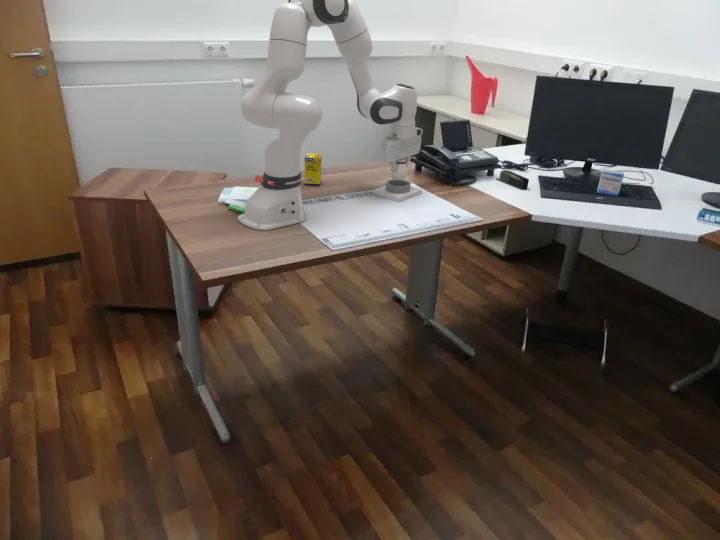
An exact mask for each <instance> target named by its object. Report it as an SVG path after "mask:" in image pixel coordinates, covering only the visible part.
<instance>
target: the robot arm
mask: <svg viewBox="0 0 720 540" xmlns="http://www.w3.org/2000/svg"><path fill="white" fill-rule="evenodd" d="M324 26H327V27H328V28H329V30H330V31H331V33H332V37H333V39H334V41H335V44H336V47H337V49H338V52H339V53H340V56H341V57H342V59H343V60H344V62H345V65H346V67H347V68H348V71H349V75H350V77H351V81H352V82H353V84H354V85H353V86H354V89H355V91H356V108H357V110H358V112H359V114H360V115H361V116H362V117H363V118H366V119H367V120H370V121H371V122H373V123H375V124H376V125H387V124H389V135H386V136H385V137H384V139H383V141H382V143H381V146H380V147H381V148H380V154H379V160H380V162H383V163H387V164H389V166H390V171H391V173H392V172H396V171H397V167H396V165H395V163H396V160H399V159H402V158H405V159H407V163H406V169H407V168H408V167H409V165H408V164H409V162H410V160H411V156H415V155H417V154H419V153H420V151H421V149H422V148H421V145H422V135H423V131H424V130H423V129H422V128H419V127H417V126H416V119H415V118H416V114H417V109H418V108H417V107H418V96H417V90H416V88H415V87H414V86H411V85H407V84H403V83H395V85H394V86H393V87H391V88H390V89H388V90H386V91H384V92H380V91H379V90H378V89H377V88H376V87H375V85H374V84H373V80H372V77H371V74H370V71H369V68H368V59H369V58H370V56H371V54H372V52H373V49H374V47H373V41H372V38H371V37H372V36H371V34H370V31H369V29H368V25H367V23H366V21H365V19H364V16H363V14H362V12H361V10H360V9H359V7H358V5H357V4H356V2H355V1H354V0H288V1H287V2H283V3H281V4H279V5H278V6H277V7H276V9H275V11H274V14H273V17H272V21H271V27H270V32H269V40H268V49H267V57H266V65H265V68H264V71H263V73H262V76H261V77H260V80H259V81H258V82H257V84H256V85H254V86H253V88H251V90H249V91H248V92H246V93H245V94H244V96H243V98H242V99H241V103H240V104H241V105H240V110H241V114H242V117H243V118H244V120H245V121H246V122H248V123H249V124H252V125H254V126H258V127H261V128H268V129H276V130H279V135H278V136H279V137H278V138H277V139H275V140H272V141H271V142H269V143H268V144H267V145H266V147H265V148H264V152H263V153H264V172H263V175H262V176H260V175H255V176H254V181H255V182H257V183H260V185H259V187H257V189H256V190H255V192H253V194H252V195H251V196H250V197H249V198H248V199H247V200H246V202H245V206H244V207H245V208H244V213H241V214H240V215H238V216H237V220H238V222H239V223H240V224H242V225H244V226H246V227H248V228H252V229H254V230H257V231H258V230H259V231H270V230H274V229H277V228H282V227H286V226H290V225H295V224H298V223H303V222H305V221H306V219H305V216H306V212H305V209H304V204H303V198H302V190H301V184H302V172H301V167H300V165H301V151H302V147H303V144H304V143H305V140H306V139H307V137H308V136H309V135H310V134H311V133H312V132H314V131H315V130H316V129H318V127H319V125H320V123H321V121H322V117H323V110H322V107H321V104H320V102H319V101H318V100H317V98H314V97H312V96H308V95H305V94H301V93H294V92H293V93H292V92H291V93H290V92H286V89H287V87H288V85H289V84H290V83H292V82H293V81H294V80H298V79H299V78H300V77H301V76H302V75H303V73H304V71H305V64H306V54H307V46H308V34H309V31H310V28H312V27H314V28H315V27H316V28H320V27H324Z"/></svg>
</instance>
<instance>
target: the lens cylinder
mask: <svg viewBox="0 0 720 540" xmlns="http://www.w3.org/2000/svg"><path fill="white" fill-rule="evenodd" d="M406 163H407V159H405V158H402V159H399V160H396V163H395V165H396V167H397V171H396V172H392V171H391V180H394V179H395V180H405V179H406V174H407V173H406V172H407V168H406Z"/></svg>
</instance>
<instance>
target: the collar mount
mask: <svg viewBox="0 0 720 540" xmlns="http://www.w3.org/2000/svg"><path fill="white" fill-rule="evenodd" d="M422 190H423V189H422V188H418V187H414V186H412V185H411V182H409V181H408V180H405V179H404V180H395V179H388V180H386V182H385V185H383V186H381V187H378V188H375V189H373V192H372V193H373V195H375V196H378V197H379V196H380V197H382V198H386V199H389V200H391V199H392V201H394V200H395V202H397V201H398V203H400V202H403V201H406V200H407V199H410V197H411V198H414V197H415V195H416V196H417V195H420V193H421V194H422Z"/></svg>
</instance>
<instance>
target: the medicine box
mask: <svg viewBox="0 0 720 540" xmlns="http://www.w3.org/2000/svg"><path fill="white" fill-rule="evenodd" d="M600 173H601V174H600V178H599V181H598V186H597V189H596V191H597V192H596V193H597V194H602V195H609V196H615V197H618V196H619V194H620V191H621V187H622V183H623V180H624V177H625V174H624V171H623V172H622V171H617V170H616V171H615V170H611V169H602V170H601V172H600Z"/></svg>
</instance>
